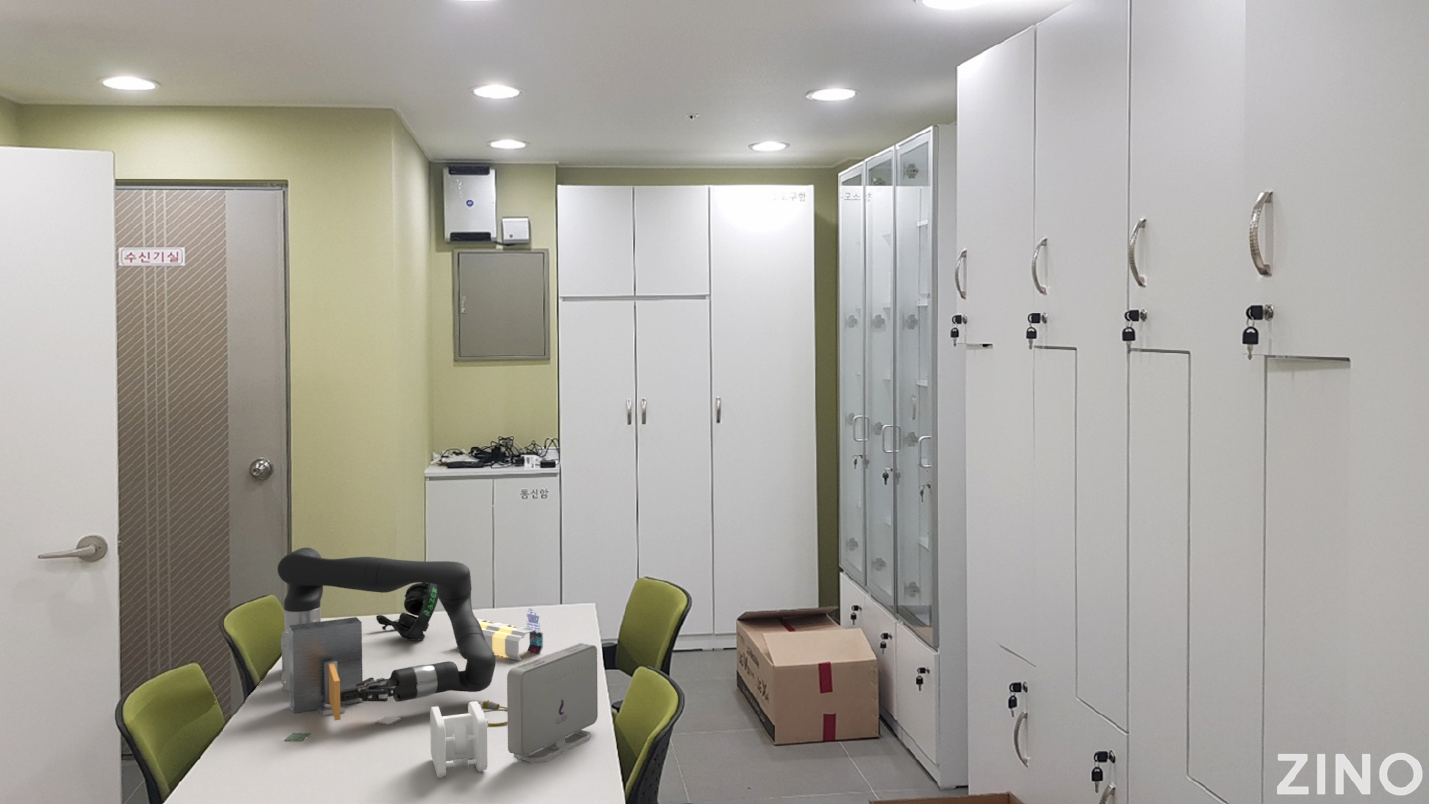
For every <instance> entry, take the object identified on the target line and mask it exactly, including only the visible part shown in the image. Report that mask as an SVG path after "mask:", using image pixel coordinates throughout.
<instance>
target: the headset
mask: <svg viewBox="0 0 1429 804" xmlns="http://www.w3.org/2000/svg"><path fill="white" fill-rule="evenodd" d="M438 601H439V598H438V595H437V588H436V584H432V583H413V584H411V586H409V587H408V588H407V589H406V591H405V594H404V601H403V607H404V609H405V611H406V612H407V613H406V612H401V614H399V619H396V620H392V619H390V618H387V616H385V615H382V614H378V615H376V617H375V618H376V619H375V620H376V622H377V623H378V624H379V625H383V626H382V627H381V628H382V630H383V631H385V632H388V631H387V630H386V629H387V628H388V626H389V627H392V628H393V629H394V630H395V631H396V632H397V633H398V634H399V635H400V636H401V638H403V639H406V640H408V641H417V640H418V641H423V640H424V639H425V638H426V635H425V633H426V632H427V630H428V629H429V626H430V624H429V622H430V620H431V618H432V616H433V614H434V612H435V609H436V606H437V604H438ZM424 632H425V633H424Z"/></svg>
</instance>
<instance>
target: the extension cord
mask: <svg viewBox="0 0 1429 804" xmlns="http://www.w3.org/2000/svg"><path fill="white" fill-rule="evenodd" d="M468 704H469V702H468V703H467V704H466V709H467V710H468ZM481 708H483V709H489V710H483V712H484V713H489V712H497V711H507V707H506V706H501V705H500V703H497V702H493V701H490V700H489V699H488V700H484V701H483V702H482V705H481ZM499 726H500V727H501V726H508V720H507V721H503V722H497V723H495V722H494V723H491V722H490V723H489V722H488V727H499Z"/></svg>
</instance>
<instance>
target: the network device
mask: <svg viewBox="0 0 1429 804" xmlns="http://www.w3.org/2000/svg"><path fill="white" fill-rule="evenodd" d="M506 692H507V693H506V695H507V698H506V699H507V700H506V701H507V705H506V706H507V721H508V725H507V751H508V752H509V754H514V756H515V758H518V759H520V760H524V761H527V762H530V763H543V762H547V761H550V760H552V759H554V758H555V757H558V756H559V755H562V754H564V753H566V752H567V751H570V750H571V749H574V748H575V747H578V746H580V745H582V744H583V743H586V742H588V741H589V740H591V738H592V733H591V732H589V731H587V730H584V729H586V728H588V727H590V726H592V725H594V724H596V723H597V720H598V715H599V714H598V713H599V712H598V709H599V707H598V706H599V705H598V702H599V701H598V699H599V698H598V648H597V646H596V645H593V644H588V643H583V642H579V643H577V644H574V645H571V646H569V647H565V648H563V649H560V650H557V651H554V652H552V653H550V654H546V655H544V656H542V657H539V658H536V659H534V660H531V661H528V662H525V663H523V664H520V665H517V666H514V667H512V668H510V669H509V671H508V673H507V676H506ZM574 734H575V735H580V736H583V737H582V738H579V739H577V740H576V741H573V742H566V738H567V737H570V736H571V735H574ZM545 748H548V749H552V750H555V751H553V752H551V753H549V754H547V755H545V756H542V757H537V756H534V755H533V754H534V753H536V752H538V751H541V750H542V749H545ZM531 754H532V755H531Z"/></svg>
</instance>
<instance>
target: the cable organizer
mask: <svg viewBox="0 0 1429 804" xmlns="http://www.w3.org/2000/svg"><path fill="white" fill-rule="evenodd" d="M468 703H469V704H468ZM468 703H467V704H468V709H467V713H462V714H461V713H460V714H451V715H444V716H442V713H441V709H440V707H439V706H437V705H436V706H431V707H430V710H429V711H430V713H429V714H430V715H429V720H430V725H429V726H430V727H429V728H430V729H429V730H430V755H431V756H430V757H431V759H432V763H433V766H434V770H435V774H436V776H437V777H438V778H439V779H442V778H444V777H446V774H447V768H452V767H453V768H455V764H456V763H455V761H457V760H465V759H467V766H468V767H467V768H468V769H469V767H470V766H469V765H472V764H474V766H475V767H476V770H477V771H478V772H479V773H480V772H484V771H485V770H487V769H488V765H489V763H488V728H489V726H488V723H489V719H487V715H486V714H485V712H483V711H484V710H483V707H482V705H481V704H479V702H478V701H476V700H475V701H469V702H468ZM471 758H472V759H471ZM451 761H453V762H451Z"/></svg>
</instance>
